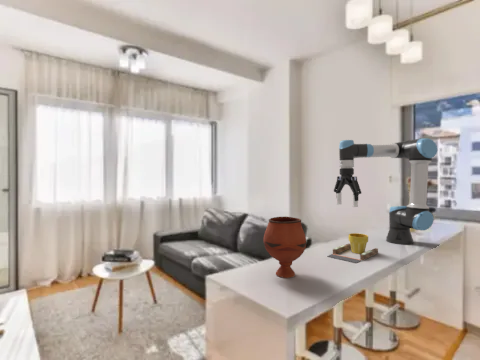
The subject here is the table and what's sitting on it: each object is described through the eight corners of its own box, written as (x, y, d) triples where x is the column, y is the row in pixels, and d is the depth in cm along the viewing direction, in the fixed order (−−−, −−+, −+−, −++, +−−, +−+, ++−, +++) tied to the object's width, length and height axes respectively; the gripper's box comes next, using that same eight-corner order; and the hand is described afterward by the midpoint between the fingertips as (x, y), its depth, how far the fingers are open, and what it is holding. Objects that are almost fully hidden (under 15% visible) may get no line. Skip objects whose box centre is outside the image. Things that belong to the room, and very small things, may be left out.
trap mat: (332, 254, 161) (332, 253, 161) (361, 260, 149) (361, 259, 149) (327, 256, 156) (327, 255, 156) (356, 263, 145) (356, 262, 145)
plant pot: (370, 255, 158) (370, 237, 158) (350, 254, 160) (350, 236, 160) (365, 250, 168) (365, 233, 168) (347, 249, 171) (347, 232, 170)
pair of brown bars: (348, 247, 175) (348, 242, 175) (378, 253, 162) (378, 248, 162) (332, 253, 162) (332, 248, 162) (363, 260, 149) (363, 255, 149)
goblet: (278, 264, 144) (277, 214, 143) (314, 273, 131) (314, 218, 131) (255, 275, 129) (254, 219, 128) (293, 286, 117) (293, 224, 116)
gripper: (327, 168, 174) (327, 203, 175) (356, 167, 150) (357, 208, 151) (337, 168, 176) (338, 203, 177) (368, 167, 153) (368, 207, 153)
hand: (346, 205), depth 164 cm, fingers open, 13 cm apart
